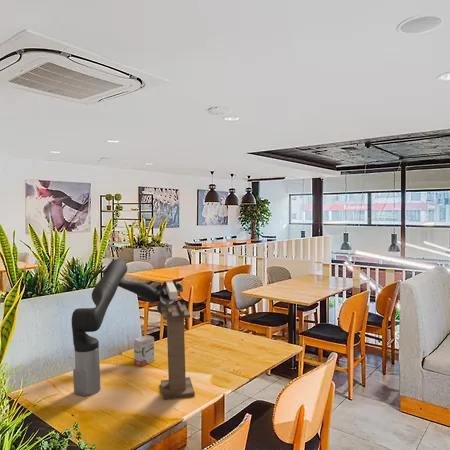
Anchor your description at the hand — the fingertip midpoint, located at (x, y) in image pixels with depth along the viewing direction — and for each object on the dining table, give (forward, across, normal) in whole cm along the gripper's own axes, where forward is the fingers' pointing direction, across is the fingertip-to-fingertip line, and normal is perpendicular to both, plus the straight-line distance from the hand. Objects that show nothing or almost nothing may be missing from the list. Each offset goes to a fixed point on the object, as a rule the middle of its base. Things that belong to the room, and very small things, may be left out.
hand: (169, 283), depth 175 cm
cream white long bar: (+4, 0, +6) cm, 7 cm away
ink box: (-29, -12, +29) cm, 42 cm away
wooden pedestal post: (-1, 0, +44) cm, 44 cm away
